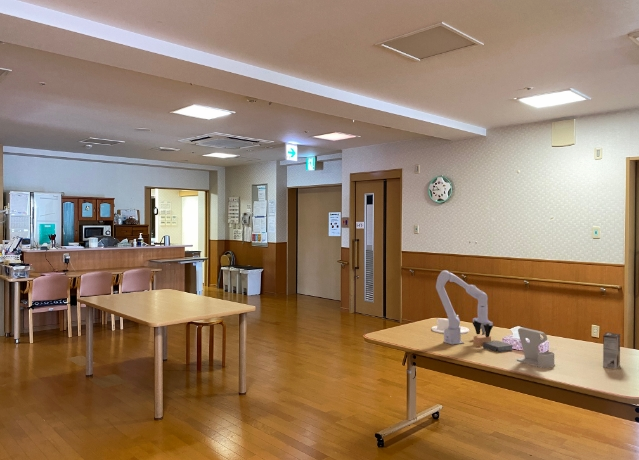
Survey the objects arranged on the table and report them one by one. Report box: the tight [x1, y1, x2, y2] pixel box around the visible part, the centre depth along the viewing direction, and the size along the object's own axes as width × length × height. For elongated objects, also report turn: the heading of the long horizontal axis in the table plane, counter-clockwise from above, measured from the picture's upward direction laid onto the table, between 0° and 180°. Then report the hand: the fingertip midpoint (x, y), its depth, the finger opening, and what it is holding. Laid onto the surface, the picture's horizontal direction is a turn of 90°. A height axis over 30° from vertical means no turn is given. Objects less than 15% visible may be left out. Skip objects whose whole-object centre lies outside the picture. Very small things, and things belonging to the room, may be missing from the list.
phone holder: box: [516, 326, 556, 369], centre depth 259 cm, size 17×10×18 cm, turn 28°
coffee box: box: [602, 331, 621, 370], centre depth 253 cm, size 9×6×16 cm
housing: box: [473, 334, 492, 347], centre depth 299 cm, size 10×5×5 cm, turn 115°
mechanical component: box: [480, 323, 486, 335], centre depth 313 cm, size 3×10×10 cm, turn 89°
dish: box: [431, 314, 470, 335], centre depth 337 cm, size 25×25×11 cm
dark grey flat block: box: [482, 340, 514, 353], centre depth 288 cm, size 11×12×3 cm
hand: (482, 335), depth 299 cm, fingers open, 7 cm apart
